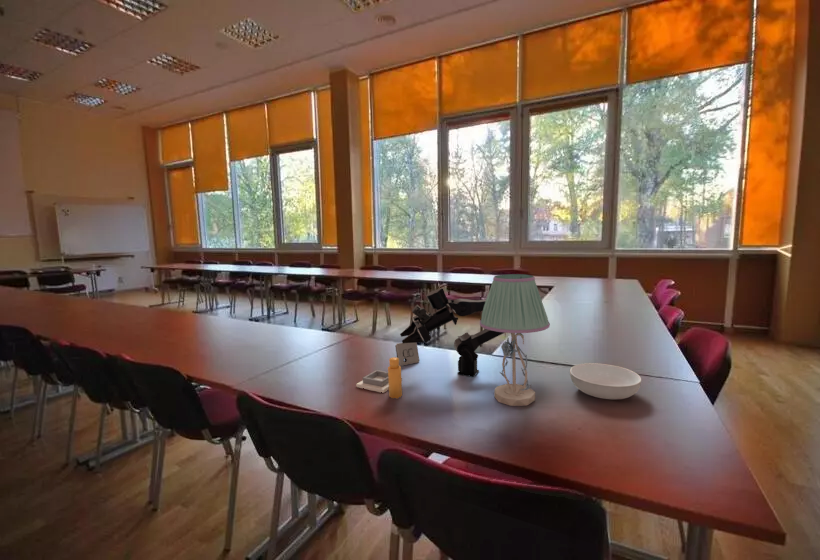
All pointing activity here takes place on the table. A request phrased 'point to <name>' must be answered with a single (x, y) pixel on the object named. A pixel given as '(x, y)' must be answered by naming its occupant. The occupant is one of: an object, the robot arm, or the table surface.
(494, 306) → the table lamp
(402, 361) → the electrical switch
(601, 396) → the serving bowl
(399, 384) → the orange bottle
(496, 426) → the table surface
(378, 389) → the plate
